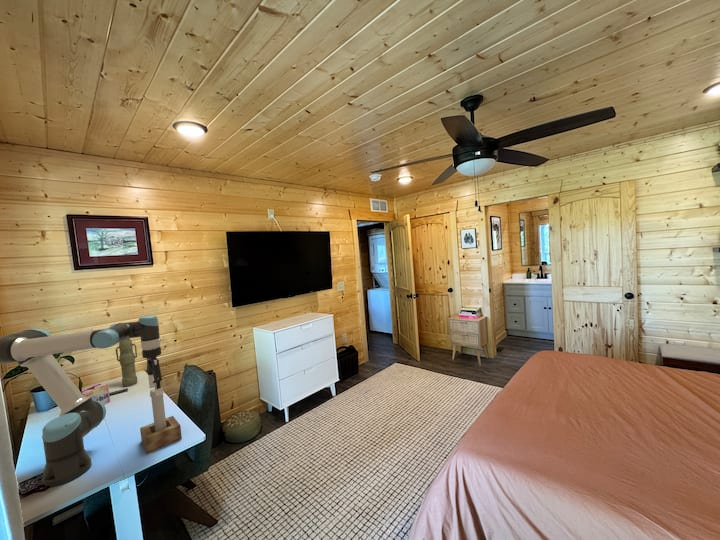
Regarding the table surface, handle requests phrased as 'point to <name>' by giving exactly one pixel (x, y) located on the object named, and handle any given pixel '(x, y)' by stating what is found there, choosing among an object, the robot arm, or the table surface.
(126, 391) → the multiport hub
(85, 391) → the gum box
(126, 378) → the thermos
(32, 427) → the table surface
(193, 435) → the table surface
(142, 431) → the socket block
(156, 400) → the cream tapered cylinder
